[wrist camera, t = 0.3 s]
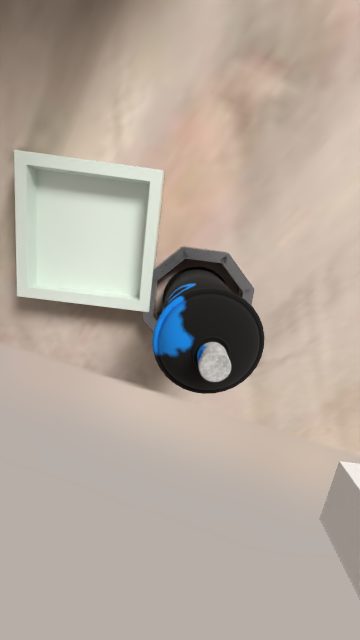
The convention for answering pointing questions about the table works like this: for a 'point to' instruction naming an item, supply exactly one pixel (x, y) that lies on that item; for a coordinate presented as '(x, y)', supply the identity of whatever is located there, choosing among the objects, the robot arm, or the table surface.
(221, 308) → the aerosol can
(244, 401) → the table surface
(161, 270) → the collar
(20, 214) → the tray
